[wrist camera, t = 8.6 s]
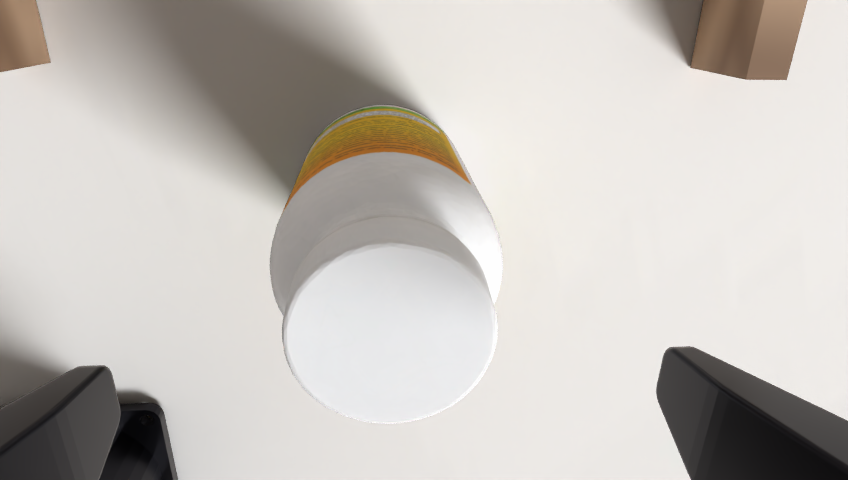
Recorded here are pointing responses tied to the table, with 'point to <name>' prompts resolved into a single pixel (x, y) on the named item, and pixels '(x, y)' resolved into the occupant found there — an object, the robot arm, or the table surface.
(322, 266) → the supplement bottle
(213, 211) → the table surface
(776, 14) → the walnut stall
